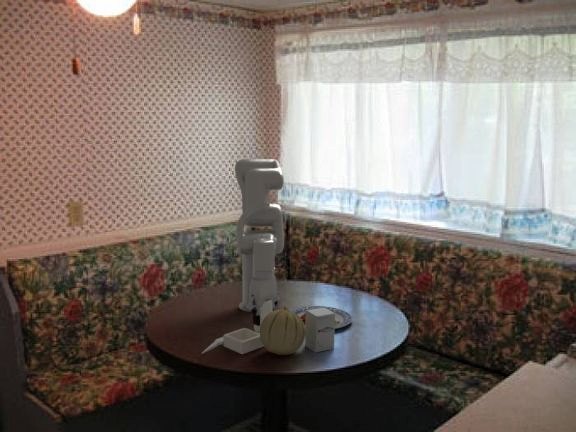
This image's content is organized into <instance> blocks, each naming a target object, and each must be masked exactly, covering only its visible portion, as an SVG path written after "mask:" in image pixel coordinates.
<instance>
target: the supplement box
mask: <svg viewBox="0 0 576 432" xmlns="http://www.w3.org/2000/svg"><path fill="white" fill-rule="evenodd" d="M334 328H335V313H333V312H332V311H330V310H328V309H326V308H318V309H311V310H306V324H305V338H304V345H305V346H306V348H308V349H309V350H311V351H312V352H314V353H315V354H316V353H320V352H324V351H329V350H334V349H335V329H334Z"/></svg>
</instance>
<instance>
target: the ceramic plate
mask: <svg viewBox="0 0 576 432" xmlns="http://www.w3.org/2000/svg"><path fill="white" fill-rule="evenodd" d="M318 308H326V309H328V310H330V311H332V312H333V313H335V328H334V330H335V329H340V328H343V327H344V328H345V327H346V326H347V325H349V324H351V323H352V321H353V317H352V315H351V314H350V313H349V312H348V311H346V310H343V309H340V308H336V307H331V306H324V305H307V306H301V307H300V306H299V307H296V308H292V309H290V310H289V311H291V312H294V313H296V314H297V315H298V316H299V317H300V318H301V319H302V321H303V323H304V326H305V324H306V310H311V309H318Z"/></svg>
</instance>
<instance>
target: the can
mask: <svg viewBox="0 0 576 432" xmlns="http://www.w3.org/2000/svg"><path fill="white" fill-rule="evenodd" d="M255 305H256V304H255ZM255 310H257V307H255ZM271 312H272V301H271V299H270V300H265V301H264V303H263V305H262V307H260V312H259V315H260V326H257V325H255V324H253V327H254V328H253V329H254V330H253V331H255V332H258V333H260V327H261V323H262V321H263V320H264V318H265V317H266V316H267V315H268V314H269V313H271Z"/></svg>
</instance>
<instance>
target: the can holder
mask: <svg viewBox="0 0 576 432" xmlns="http://www.w3.org/2000/svg"><path fill="white" fill-rule="evenodd" d="M222 337H223V338H224V342H223V347H225V348H227V349H229V350H231V351H234V352H236V353H238V354H241V355H244V354H247V353H250V352H252V351H255V350H258V349H260V348H263V347H264V345H263V343H262V341H261V339H260V333H258V332H256V331H255V330H252V329H250V328H247V327H242V328H240V329H238V330H234V331H231V332H229V333H225V334H223V336H222Z"/></svg>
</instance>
